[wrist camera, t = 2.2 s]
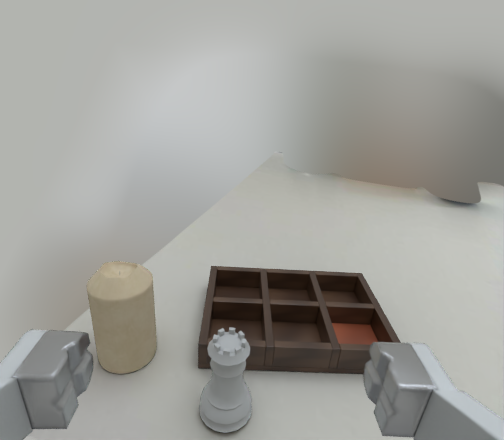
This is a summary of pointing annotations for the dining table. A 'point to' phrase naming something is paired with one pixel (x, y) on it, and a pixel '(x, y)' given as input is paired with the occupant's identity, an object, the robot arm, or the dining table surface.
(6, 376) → the robot arm
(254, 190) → the dining table surface
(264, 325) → the grid
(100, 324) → the candle
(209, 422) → the rook chess piece
